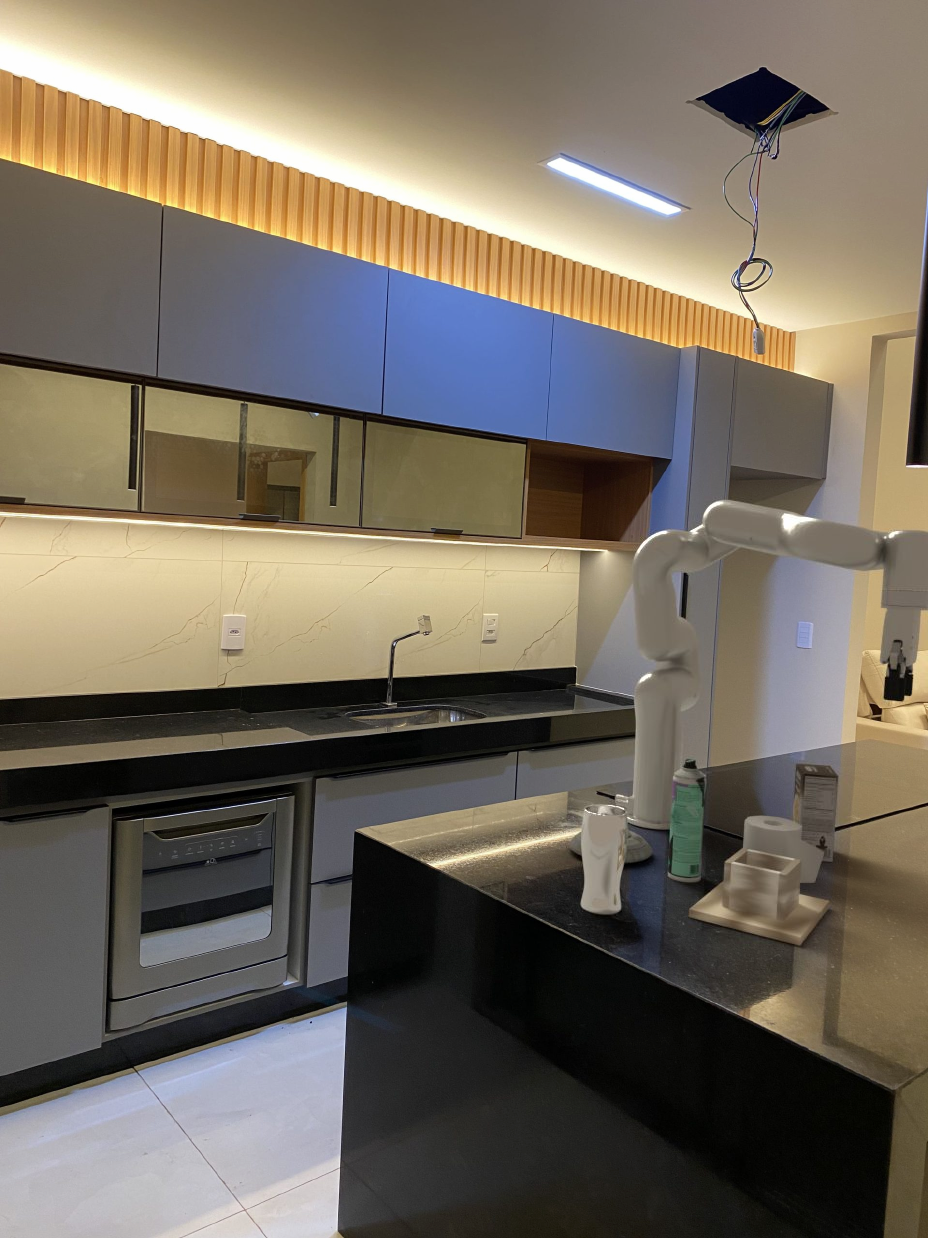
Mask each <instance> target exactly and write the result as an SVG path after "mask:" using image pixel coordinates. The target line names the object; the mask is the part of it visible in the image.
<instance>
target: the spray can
mask: <svg viewBox="0 0 928 1238" xmlns="http://www.w3.org/2000/svg"><path fill="white" fill-rule="evenodd" d="M699 768H700V767H698V765H697V761H696V760H695V759H694V758H693V759H692V758H687V759H685V761H684V764H683V765H682V766H681V769H680V770H678V771H676V772H674V776H673V787H672V805H671V823H670V830H669V841H668V842H669V843H668V844H669V845H668V859H667V860H668V861H667V862H668V863H667V864H668V865H667V876H668V877H669V879H671V880H673V881H677V882H682V883H697V882H699V881H701V878H702V863H703V848H704V847H703V846H704V832H705V831H704V828H705V813H706V812H705V810H706V797H707V796H706V794H707V774H705V773H703V772H702V771H701V770H700V769H699Z"/></svg>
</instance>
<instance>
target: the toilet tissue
mask: <svg viewBox="0 0 928 1238" xmlns="http://www.w3.org/2000/svg"><path fill="white" fill-rule="evenodd" d="M801 836H802V825H800V824H798V823H797V822H795V821H793V819H788V818H783V817H780V816H769V815H753V816H751V815H750V816H748V817H747V818H746V819H744V825H743V841H742V842H743V843H742V844H743V845H742V848H745V849H750V850H755V851H760V852H765V853H770V854H774V855H779V856H784V857H789V858H794V859H799V860H802V861H801V876H800V884H810V883H811V884H813V883H816V881H817V880H816V879H817V876H818V874H819V870H820V868H821V864H822V862H823V861H822V858H823V855H824V852H823V851H821V850H819V849H818V848H816V847H814V846H812V845H810V844H808V843H807V842H805V841H803V840H801Z"/></svg>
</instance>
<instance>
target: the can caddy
mask: <svg viewBox="0 0 928 1238" xmlns="http://www.w3.org/2000/svg"><path fill="white" fill-rule="evenodd" d="M801 861H802V860H799V859H794V858H789V857H784V856H779V855H774V854H770V853H765V852H760V851H755V850H750V849H745V848H743V847H742V848H740V850H738V851H736V852H735V853H734V854H733V855H731V857H729V858H727V859H726V860H725V861H724V867H723V870H724V871H723V881H722V882H720V883H719V884H718V885H716V886H715V887H714V888H713V889H711V891H710V892H708V893H706V895H704V896H703V897H702V898H701V899H700V900H698V901H697V902H696V903H695V904H693V906H691V907H690V908H689V909H688V918H691V919H695V920H699V921H703V922H707V923H711V924H715V925H717V926H722V927H727V928H729V929H734V930H737V931H742V932H744V933H749V934H754V935H757V936H760V937H766V938H768V939H773V940H777V941H779V942H780V941H781V942H785V943H788V944H791V945H796V946H801V945H802V944H803V942H804V941H805V940H806V939H807V937H808V936H809V935H810V933H812V931H813V930H814V928H815V927H816V926H817V925H818V923H819V922H820V920H821V919H822V918H823V916H824V915H825V914H826V913H827V912H828V910H829V909H830V900H828V899H827V900H826V899H823V898H819V897H814V896H810V895H805V894H801V893H800V891H801V890H800V889H801V883H800V876H801Z"/></svg>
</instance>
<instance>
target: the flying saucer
mask: <svg viewBox="0 0 928 1238" xmlns="http://www.w3.org/2000/svg"><path fill="white" fill-rule="evenodd" d="M581 832H582V830H580V831H579V832H578V833H577V834H576V835H574V836H573V837H572V838H571V840H570V841H569V842H568V847H569V848H570V850H571V851H572V852H574V853H576V854H577V855H578V856H581V857H582V849H581ZM653 851H654V850H653V849H652V847H651V845H650V844H649V842H647V841H646V839H645V838H644V837H643V836H641V835H640V834H638V833H637V832H634V831H632V830H630V829H628V842H627V851H626V856H625V861H624V864H630V863H631V864H632V863H637V862H641V861H644V860H646V859H648V858H650V857H651V856H652V855H653V854H654V853H653Z"/></svg>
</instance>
